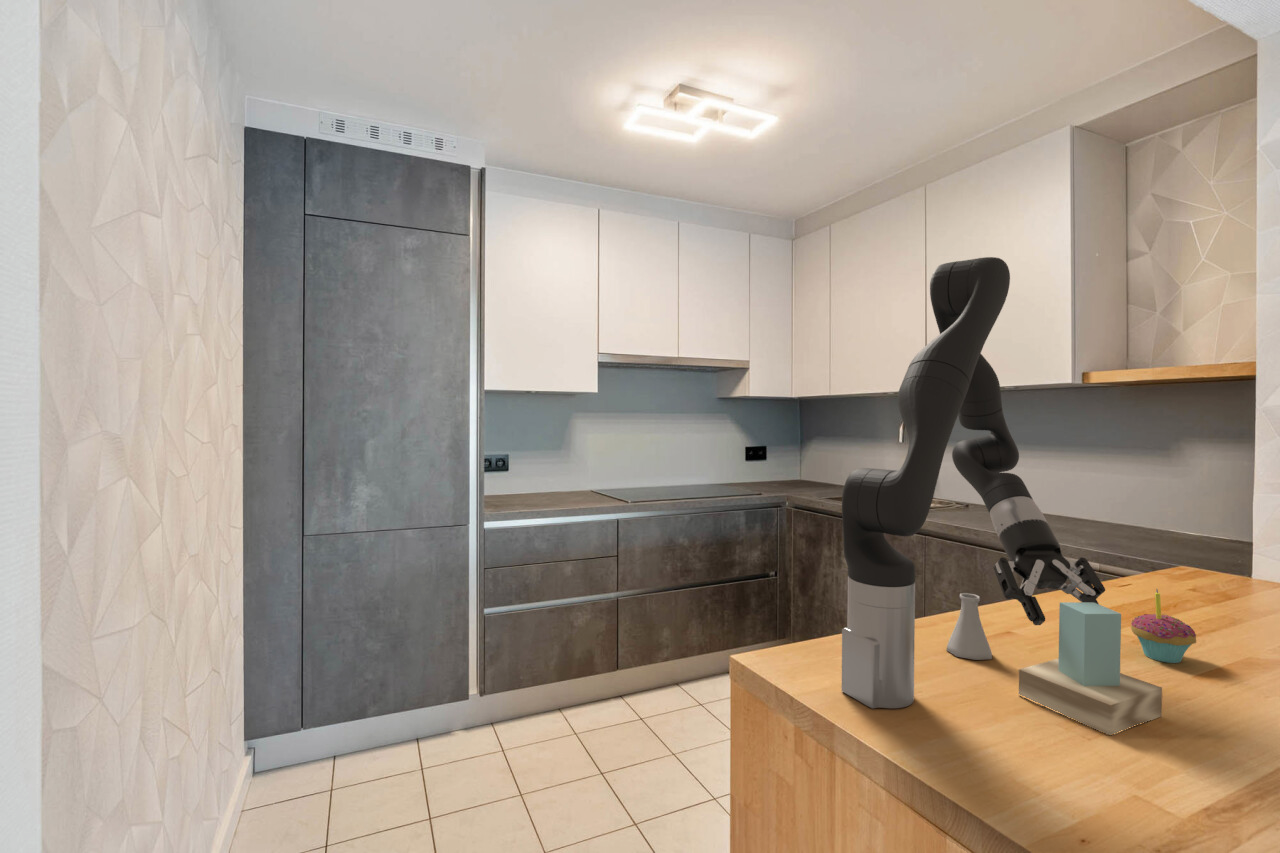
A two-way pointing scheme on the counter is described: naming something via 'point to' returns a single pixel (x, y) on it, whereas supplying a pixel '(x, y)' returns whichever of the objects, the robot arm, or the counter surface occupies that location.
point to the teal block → (1089, 643)
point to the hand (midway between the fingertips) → (1069, 623)
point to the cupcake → (1163, 635)
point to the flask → (969, 632)
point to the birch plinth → (1092, 698)
